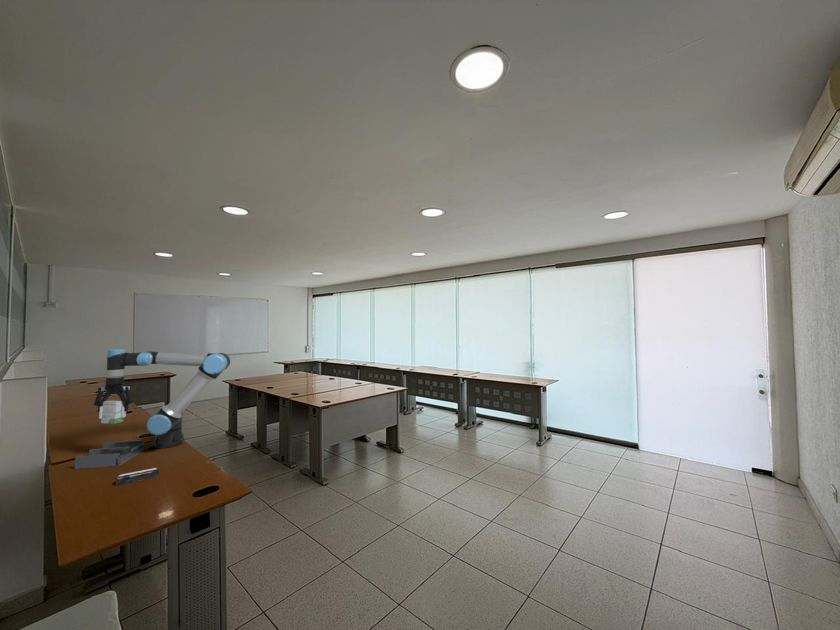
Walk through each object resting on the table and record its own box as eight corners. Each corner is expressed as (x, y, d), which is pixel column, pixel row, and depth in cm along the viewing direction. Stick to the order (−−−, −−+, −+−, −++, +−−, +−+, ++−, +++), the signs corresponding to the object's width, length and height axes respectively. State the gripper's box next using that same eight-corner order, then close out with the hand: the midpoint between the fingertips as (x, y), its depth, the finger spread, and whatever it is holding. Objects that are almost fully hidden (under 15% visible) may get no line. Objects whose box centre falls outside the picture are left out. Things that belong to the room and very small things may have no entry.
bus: (166, 479, 155) (166, 470, 155) (92, 495, 139) (92, 485, 140) (165, 469, 166) (165, 461, 167) (96, 483, 151) (97, 474, 151)
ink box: (100, 423, 181) (101, 401, 181) (110, 420, 186) (111, 399, 186) (114, 423, 180) (115, 402, 180) (124, 421, 185) (125, 400, 185)
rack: (144, 450, 191) (144, 439, 191) (120, 465, 169) (121, 453, 170) (104, 453, 186) (104, 442, 186) (74, 469, 164) (75, 456, 165)
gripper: (142, 375, 191) (140, 414, 189) (95, 376, 185) (93, 417, 183) (134, 377, 183) (132, 418, 182) (86, 378, 177) (83, 420, 176)
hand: (112, 417), depth 183 cm, fingers closed on ink box, 9 cm apart
